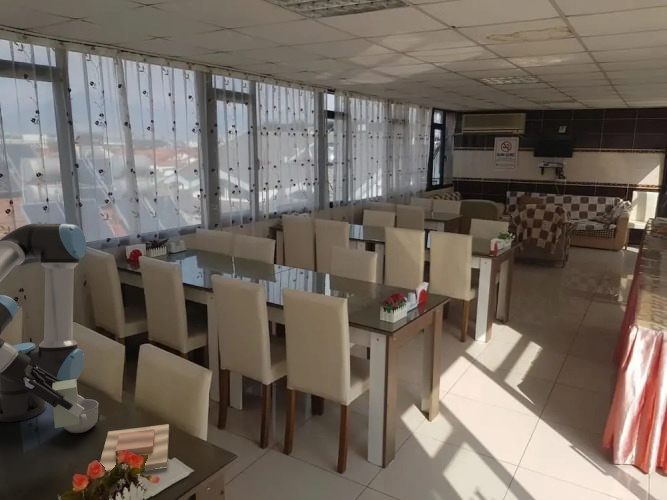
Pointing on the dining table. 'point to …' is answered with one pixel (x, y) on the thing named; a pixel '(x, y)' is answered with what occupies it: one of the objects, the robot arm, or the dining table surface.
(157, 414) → the dining table surface
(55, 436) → the dining table surface
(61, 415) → the pillar block
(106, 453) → the stand
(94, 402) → the teacup
